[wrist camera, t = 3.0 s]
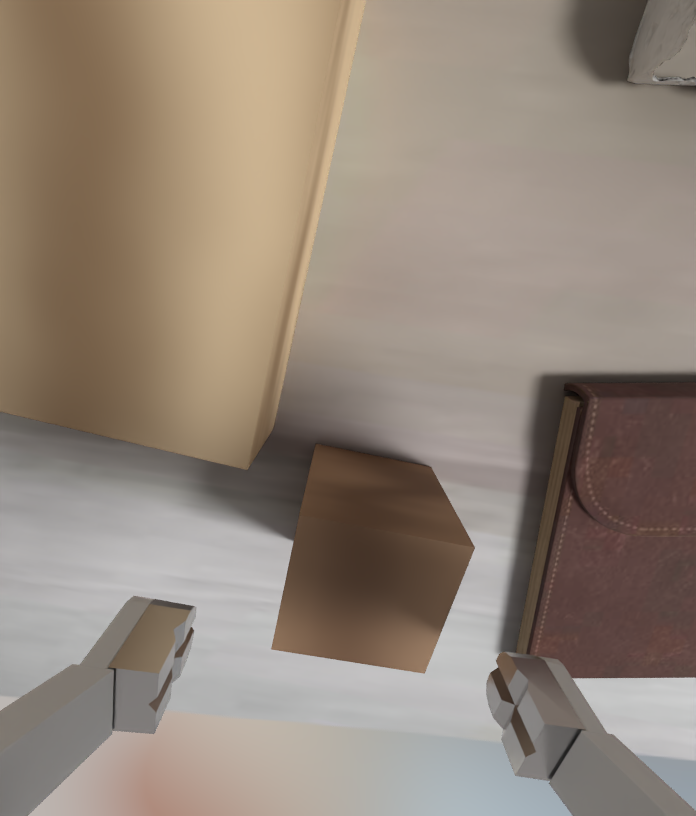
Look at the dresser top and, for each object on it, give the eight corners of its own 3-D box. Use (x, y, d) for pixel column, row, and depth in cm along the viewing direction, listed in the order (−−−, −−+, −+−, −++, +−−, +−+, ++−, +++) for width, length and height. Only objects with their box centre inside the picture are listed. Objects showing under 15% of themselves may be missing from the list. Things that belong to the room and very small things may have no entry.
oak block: (367, 3, 10) (380, -198, 6) (275, 425, 14) (247, 470, 10) (21, -121, 9) (-223, -446, 5) (28, 364, 13) (-107, 386, 9)
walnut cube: (430, 465, 14) (474, 547, 9) (399, 559, 15) (424, 673, 10) (316, 442, 13) (299, 514, 9) (295, 540, 15) (271, 649, 10)
